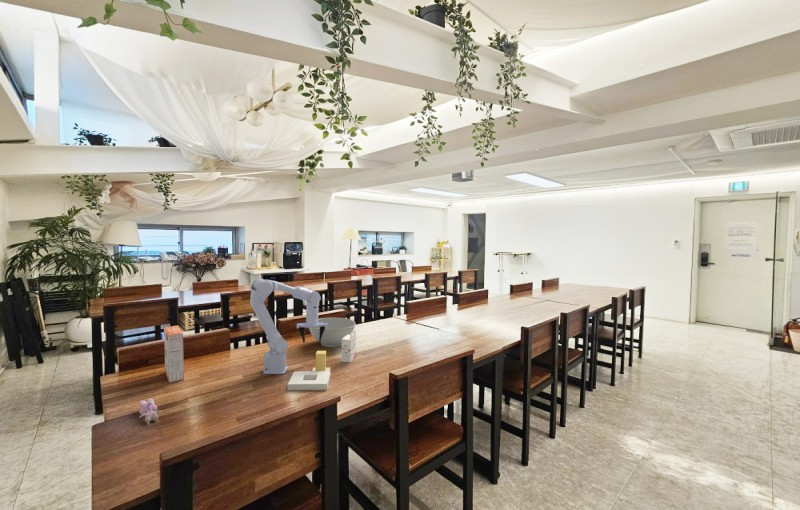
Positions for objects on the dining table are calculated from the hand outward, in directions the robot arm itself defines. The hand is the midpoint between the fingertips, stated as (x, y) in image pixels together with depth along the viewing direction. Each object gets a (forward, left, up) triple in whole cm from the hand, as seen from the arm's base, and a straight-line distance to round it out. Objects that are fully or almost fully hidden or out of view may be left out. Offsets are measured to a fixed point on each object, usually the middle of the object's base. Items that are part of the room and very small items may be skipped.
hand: (311, 342), depth 172 cm
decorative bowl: (+7, +29, -11) cm, 32 cm away
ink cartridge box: (+18, +4, -11) cm, 21 cm away
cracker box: (-57, -15, -11) cm, 60 cm away
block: (+6, -12, -10) cm, 17 cm away
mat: (+6, -12, -10) cm, 17 cm away
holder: (+3, -24, -10) cm, 26 cm away
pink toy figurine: (-48, -48, -11) cm, 69 cm away
